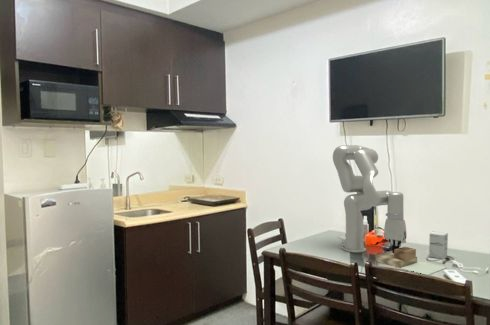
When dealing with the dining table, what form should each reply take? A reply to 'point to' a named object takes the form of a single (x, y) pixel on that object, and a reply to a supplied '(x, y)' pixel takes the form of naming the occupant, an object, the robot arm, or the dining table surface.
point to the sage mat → (423, 268)
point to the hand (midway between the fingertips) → (395, 252)
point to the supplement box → (438, 245)
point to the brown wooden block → (404, 253)
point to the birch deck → (394, 260)
